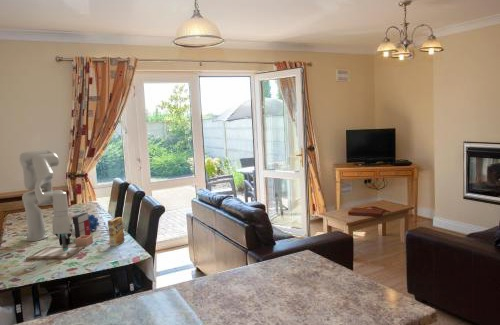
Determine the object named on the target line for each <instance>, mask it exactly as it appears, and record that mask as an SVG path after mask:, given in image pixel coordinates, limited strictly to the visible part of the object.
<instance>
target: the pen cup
mask: <svg viewBox="0 0 500 325" xmlns="http://www.w3.org/2000/svg"><path fill="white" fill-rule="evenodd" d="M74 241H75V247H88V246H90V245H92V244H93V243H94V239H93V235H92V234H90V235H86V236H80V237H78V238H76V237H75V239H74Z"/></svg>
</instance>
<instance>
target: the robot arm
mask: <svg viewBox="0 0 500 325" xmlns="http://www.w3.org/2000/svg"><path fill="white" fill-rule="evenodd" d="M19 162H20V165H21V167H22V170H23V184H24V185H23V186H24V188H25V189H26V190H27V192H25V193H23V195H22V197H21V199H22V204H23V207H24V210H25V216H26V219H25V220H26V225H27V232H24V233H23V237H26V241H27V242H38V241H42V240H45V239H47V238H49V234H48V233H47V234H46V231H45V229H46V228H45V221H44V211H43V210H42V209H41V208H40V207H39V205H41V206H48V205H52V208H53V211H52V215H53V216H52V222H51V226H52V228H51V229H52V235H54V236H56V237H57V239H58V240H59V241H58V242H59V246H62V239H61V234H65V235H66V239H65V242H66V245H68V246H69V245H70V244H71V236H72V235H75V229H74V224H73V219H72V217H71V214H70V212H69V204H68V203H69V202H68V195H67V191H64V190H62V189H55V190H53V179H54V177H55V173H54V171H53V167H54V168H55V167H57V166H58V165H59V164H60V159H59V156H58V154H57V153H55V152H54V151H52V150H49V149H43V150H42V149H41V150H40V149H39V150H32V151H31V150H30V151H24V152H21V153H20V154H19ZM29 190H30V191H29Z"/></svg>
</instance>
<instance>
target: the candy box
mask: <svg viewBox="0 0 500 325" xmlns="http://www.w3.org/2000/svg"><path fill="white" fill-rule="evenodd" d="M107 228H108V236H109V237H108V238H109V246H111V247H112V246H113V247H116V246H118V245H121V244H122V243H124V241H125V231H124V223H123V217H122V216H116V217H114V218H112V219H109V220H107Z"/></svg>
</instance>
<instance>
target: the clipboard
mask: <svg viewBox="0 0 500 325" xmlns="http://www.w3.org/2000/svg"><path fill="white" fill-rule="evenodd" d="M85 247H86V246H68V250H63V248H62V246H50V247H49V246H47V247H44V248H42V249H40V250H38V251H37V252H35V253H33V254H31V255H30V256H28V257H26V258H25V260H26V261H45V260H46V261H48V260H52V261H53V260H55V261H56V260H68V259H70V258H71V257H73V256H75V255H76V254H78V253H79V252H81V251H82V249H83V250H84V249H85Z"/></svg>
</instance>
